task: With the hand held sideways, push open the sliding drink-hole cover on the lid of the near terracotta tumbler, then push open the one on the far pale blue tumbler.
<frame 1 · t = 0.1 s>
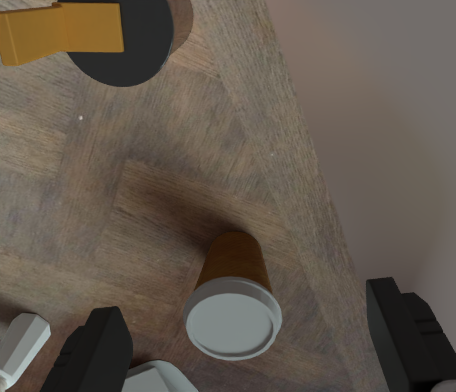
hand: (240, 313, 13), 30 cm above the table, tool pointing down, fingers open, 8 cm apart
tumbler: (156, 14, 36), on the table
disposable coffee cup: (235, 252, 48), on the table
salt shaker: (33, 325, 56), on the table
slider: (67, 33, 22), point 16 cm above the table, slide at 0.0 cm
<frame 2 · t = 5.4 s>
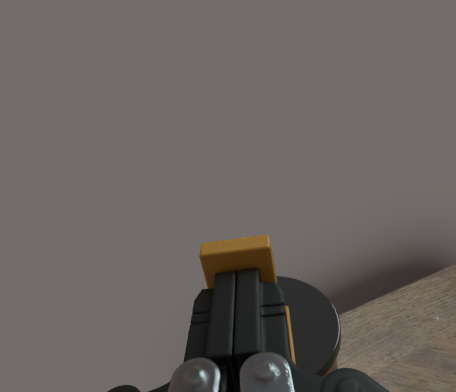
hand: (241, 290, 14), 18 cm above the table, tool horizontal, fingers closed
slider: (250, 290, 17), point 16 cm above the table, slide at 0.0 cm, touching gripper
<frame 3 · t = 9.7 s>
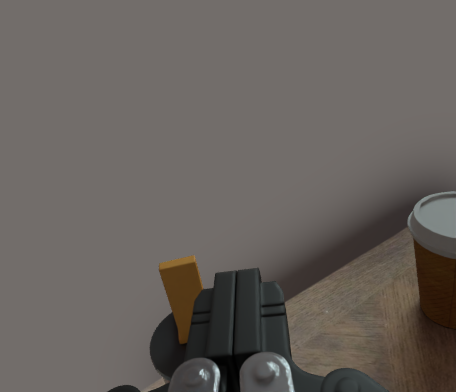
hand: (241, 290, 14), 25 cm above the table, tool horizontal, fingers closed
disposable coffee cup: (452, 308, 43), on the table
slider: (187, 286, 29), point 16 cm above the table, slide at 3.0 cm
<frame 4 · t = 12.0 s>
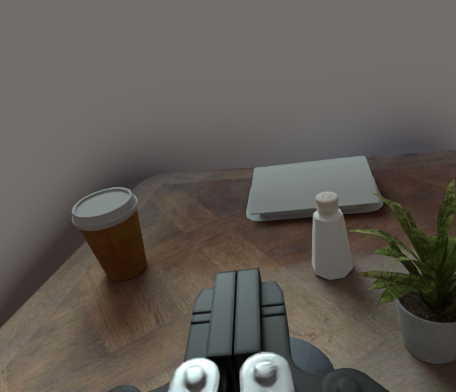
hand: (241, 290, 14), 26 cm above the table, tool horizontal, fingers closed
disposable coffee cup: (127, 269, 62), on the table
salt shaker: (332, 268, 54), on the table
house plant: (425, 333, 42), on the table
book: (311, 195, 72), on the table
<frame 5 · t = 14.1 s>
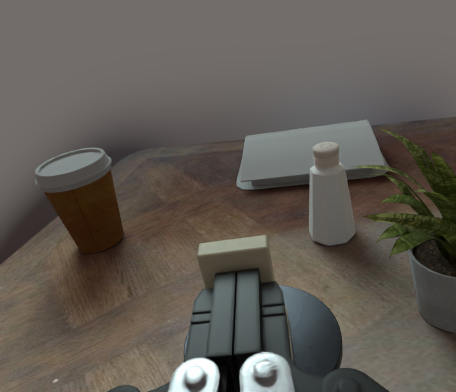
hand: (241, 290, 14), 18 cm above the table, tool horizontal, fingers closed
disposable coffee cup: (101, 241, 56), on the table
salt shaker: (332, 234, 47), on the table
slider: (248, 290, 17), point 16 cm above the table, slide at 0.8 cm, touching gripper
house plant: (444, 300, 35), on the table
book: (308, 164, 66), on the table
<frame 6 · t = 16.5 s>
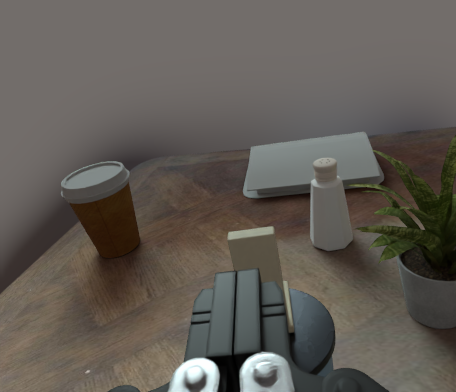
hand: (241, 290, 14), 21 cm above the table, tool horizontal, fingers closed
disposable coffee cup: (120, 246, 60), on the table
salt shaker: (331, 240, 52), on the table
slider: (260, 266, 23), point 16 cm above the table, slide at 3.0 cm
house plant: (430, 300, 40), on the table
book: (309, 173, 70), on the table
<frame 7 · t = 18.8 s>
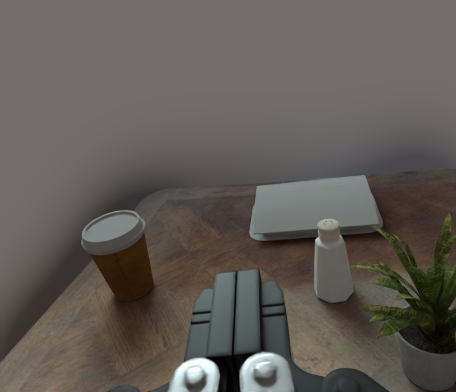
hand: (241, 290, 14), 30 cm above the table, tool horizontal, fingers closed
disposable coffee cup: (134, 288, 64), on the table
salt shaker: (333, 291, 56), on the table
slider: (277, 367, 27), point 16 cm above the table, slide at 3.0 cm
house plant: (423, 359, 44), on the table
book: (312, 214, 74), on the table
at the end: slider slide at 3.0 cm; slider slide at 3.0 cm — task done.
